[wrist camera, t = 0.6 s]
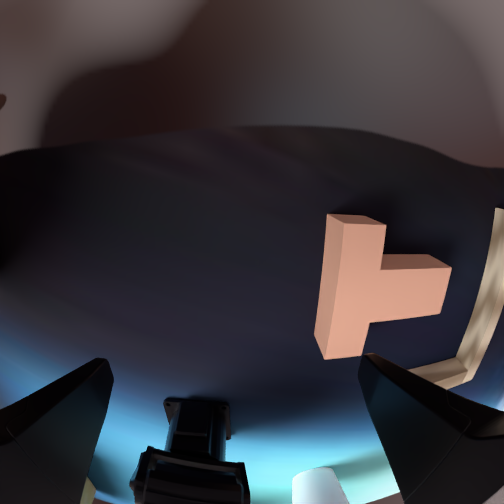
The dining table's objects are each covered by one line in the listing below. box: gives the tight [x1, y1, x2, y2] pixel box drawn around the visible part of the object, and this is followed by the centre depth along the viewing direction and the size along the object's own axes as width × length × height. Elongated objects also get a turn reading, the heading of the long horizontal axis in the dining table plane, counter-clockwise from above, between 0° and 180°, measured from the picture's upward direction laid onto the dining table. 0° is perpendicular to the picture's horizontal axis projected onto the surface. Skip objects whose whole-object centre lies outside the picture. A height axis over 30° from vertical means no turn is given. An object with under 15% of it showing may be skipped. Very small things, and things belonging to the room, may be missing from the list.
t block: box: [314, 214, 452, 359], centre depth 19 cm, size 10×10×4 cm
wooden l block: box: [408, 208, 504, 389], centre depth 21 cm, size 20×13×3 cm, turn 179°
